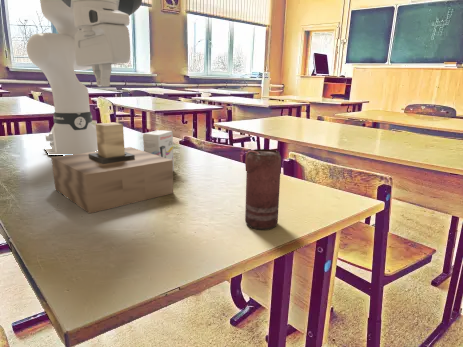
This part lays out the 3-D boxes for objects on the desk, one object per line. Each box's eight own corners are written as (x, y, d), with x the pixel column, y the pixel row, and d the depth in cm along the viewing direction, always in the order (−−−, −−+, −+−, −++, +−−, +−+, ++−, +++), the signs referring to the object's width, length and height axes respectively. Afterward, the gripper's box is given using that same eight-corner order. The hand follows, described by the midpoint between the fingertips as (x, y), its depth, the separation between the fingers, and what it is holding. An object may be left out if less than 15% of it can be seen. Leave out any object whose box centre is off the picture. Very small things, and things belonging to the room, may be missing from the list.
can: (242, 218, 71) (243, 148, 67) (273, 217, 71) (277, 148, 68) (245, 230, 65) (248, 154, 61) (280, 230, 65) (284, 154, 62)
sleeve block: (55, 190, 86) (51, 153, 83) (132, 175, 99) (130, 143, 97) (89, 213, 72) (85, 169, 69) (173, 193, 85) (172, 155, 83)
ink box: (160, 178, 97) (158, 135, 94) (143, 176, 98) (141, 133, 95) (175, 170, 105) (173, 130, 102) (159, 169, 106) (157, 129, 103)
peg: (98, 162, 84) (95, 123, 81) (116, 159, 86) (114, 122, 84) (107, 166, 80) (104, 125, 78) (125, 163, 83) (122, 124, 81)
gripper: (64, 24, 82) (71, 87, 85) (102, 10, 67) (110, 86, 71) (91, 26, 86) (97, 86, 89) (133, 14, 71) (139, 86, 75)
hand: (103, 86), depth 80 cm, fingers closed
